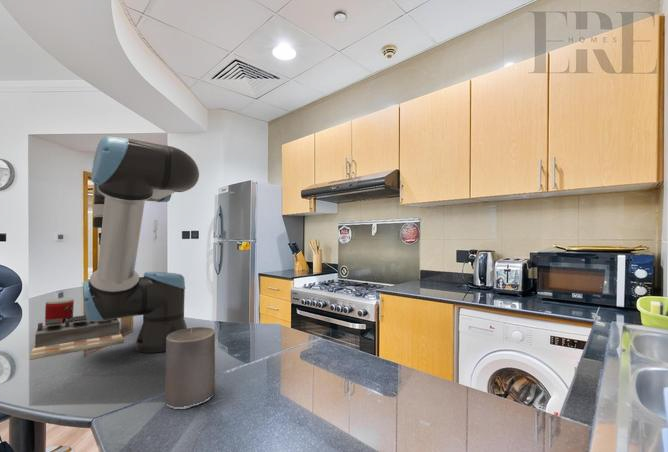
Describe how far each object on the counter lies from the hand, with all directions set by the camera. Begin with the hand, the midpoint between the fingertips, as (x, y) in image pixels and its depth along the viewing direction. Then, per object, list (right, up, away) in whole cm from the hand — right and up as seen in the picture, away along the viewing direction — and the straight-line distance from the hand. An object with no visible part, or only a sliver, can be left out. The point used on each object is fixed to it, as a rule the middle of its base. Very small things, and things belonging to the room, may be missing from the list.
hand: (104, 281), depth 112 cm
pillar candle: (+52, -17, -45) cm, 71 cm away
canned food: (-20, -19, +4) cm, 28 cm away
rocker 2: (+2, -11, -3) cm, 12 cm away
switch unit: (0, -18, -10) cm, 21 cm away
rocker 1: (-8, -11, -12) cm, 18 cm away
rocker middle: (-3, -11, -7) cm, 14 cm away
